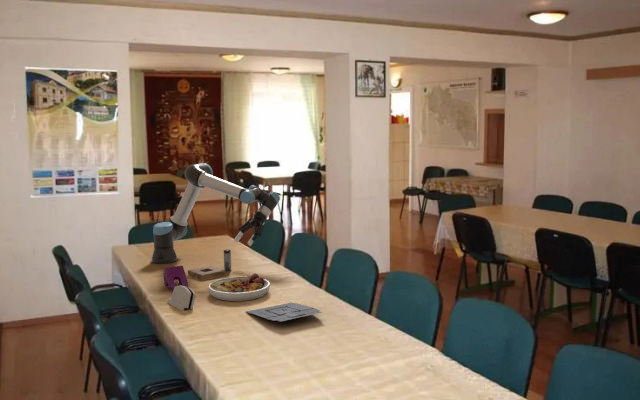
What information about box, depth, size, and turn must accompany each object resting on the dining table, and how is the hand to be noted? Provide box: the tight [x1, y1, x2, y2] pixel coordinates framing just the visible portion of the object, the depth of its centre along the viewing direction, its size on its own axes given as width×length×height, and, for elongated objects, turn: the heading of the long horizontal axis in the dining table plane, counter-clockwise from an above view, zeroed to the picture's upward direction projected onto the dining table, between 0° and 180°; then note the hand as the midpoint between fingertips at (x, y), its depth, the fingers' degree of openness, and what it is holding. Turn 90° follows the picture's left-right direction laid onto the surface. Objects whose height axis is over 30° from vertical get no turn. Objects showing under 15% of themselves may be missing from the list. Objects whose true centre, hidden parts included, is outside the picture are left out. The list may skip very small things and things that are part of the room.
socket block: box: [187, 265, 226, 281], centre depth 324 cm, size 15×15×3 cm
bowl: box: [208, 273, 271, 302], centre depth 289 cm, size 30×30×8 cm
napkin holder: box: [167, 285, 196, 312], centre depth 271 cm, size 17×5×10 cm, turn 39°
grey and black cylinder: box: [223, 249, 232, 272], centre depth 334 cm, size 4×4×12 cm
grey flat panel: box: [245, 302, 323, 322], centre depth 255 cm, size 24×30×4 cm
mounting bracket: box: [163, 265, 189, 293], centre depth 301 cm, size 10×9×19 cm
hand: (242, 242), depth 340 cm, fingers open, 13 cm apart
